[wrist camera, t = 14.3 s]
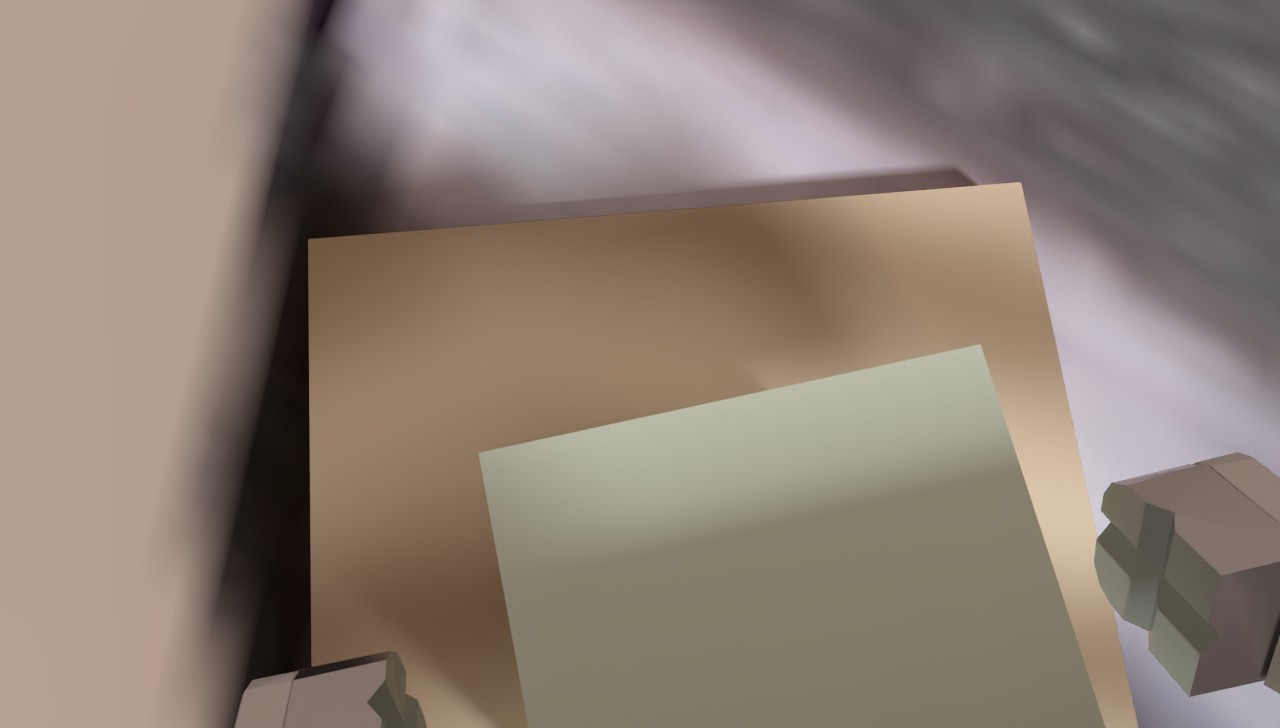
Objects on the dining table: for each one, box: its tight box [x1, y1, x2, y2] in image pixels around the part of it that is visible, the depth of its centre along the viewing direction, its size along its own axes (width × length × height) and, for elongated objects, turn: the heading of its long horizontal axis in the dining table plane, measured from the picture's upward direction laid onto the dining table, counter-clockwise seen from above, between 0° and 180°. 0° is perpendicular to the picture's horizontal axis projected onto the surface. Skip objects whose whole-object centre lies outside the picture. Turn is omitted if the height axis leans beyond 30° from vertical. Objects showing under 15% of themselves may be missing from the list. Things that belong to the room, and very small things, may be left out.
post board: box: [308, 182, 1138, 728], centre depth 14 cm, size 16×14×6 cm
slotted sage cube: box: [478, 344, 1105, 728], centre depth 12 cm, size 5×5×7 cm
